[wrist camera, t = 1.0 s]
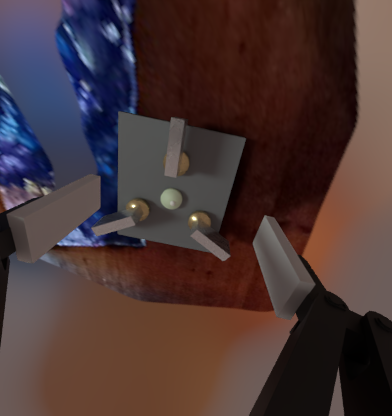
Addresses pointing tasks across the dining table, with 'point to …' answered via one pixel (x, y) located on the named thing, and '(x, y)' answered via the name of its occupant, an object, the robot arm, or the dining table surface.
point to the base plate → (174, 187)
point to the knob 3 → (208, 235)
